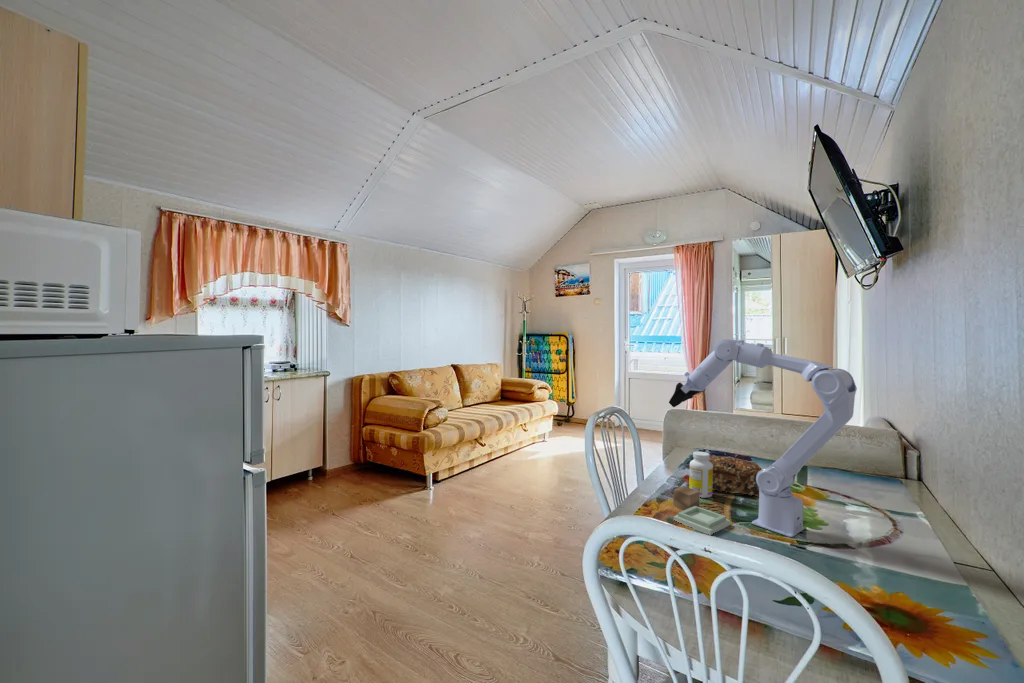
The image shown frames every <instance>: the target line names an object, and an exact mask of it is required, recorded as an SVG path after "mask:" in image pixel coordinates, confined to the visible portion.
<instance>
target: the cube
mask: <svg viewBox="0 0 1024 683" xmlns="http://www.w3.org/2000/svg"><path fill="white" fill-rule="evenodd" d="M699 495H700V491H697V490H694V489H691V488H689V487H687V486H683V485H682V486H679V487H677V488H675V489H673V501H672V502H673V506H675V507H677V508H676V509H678V508H679V510H682V511H683V510H686V509H688V508H691V507H693V506H698V507H700V497H699ZM673 506H672V507H673ZM675 507H674V508H675Z"/></svg>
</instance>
